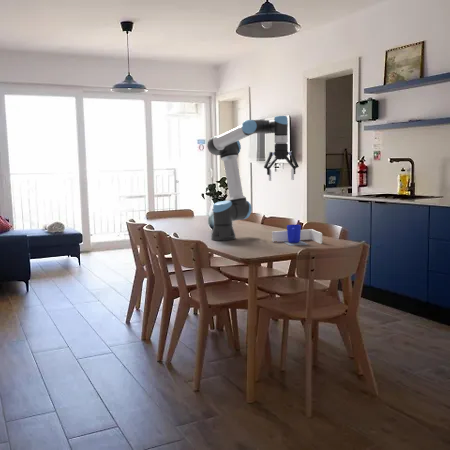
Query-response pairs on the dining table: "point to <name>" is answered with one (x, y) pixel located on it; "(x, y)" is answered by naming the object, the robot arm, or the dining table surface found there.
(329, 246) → the dining table surface
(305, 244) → the mat
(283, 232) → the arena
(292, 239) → the mug
